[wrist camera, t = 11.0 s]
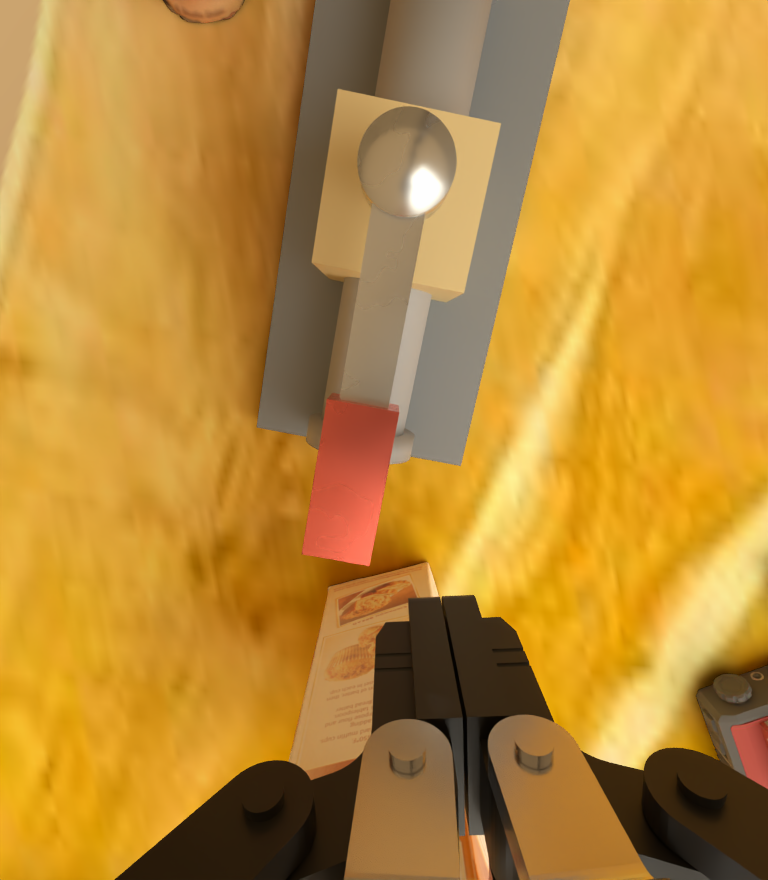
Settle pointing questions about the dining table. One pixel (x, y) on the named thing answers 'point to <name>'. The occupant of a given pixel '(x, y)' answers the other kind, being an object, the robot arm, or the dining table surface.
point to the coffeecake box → (360, 682)
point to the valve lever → (376, 330)
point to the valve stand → (444, 233)
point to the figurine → (204, 9)
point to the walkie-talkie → (739, 721)
